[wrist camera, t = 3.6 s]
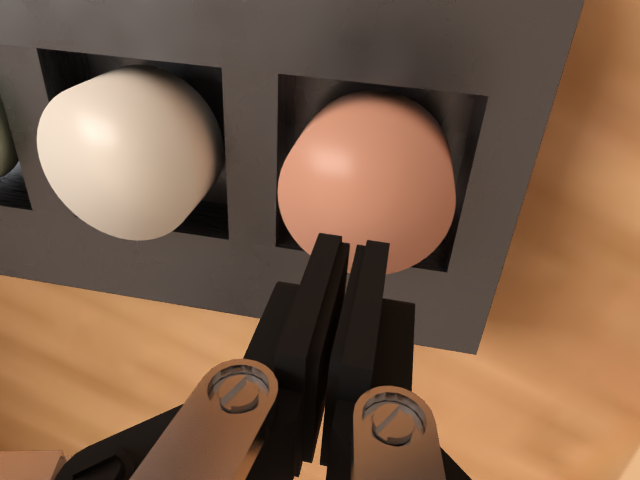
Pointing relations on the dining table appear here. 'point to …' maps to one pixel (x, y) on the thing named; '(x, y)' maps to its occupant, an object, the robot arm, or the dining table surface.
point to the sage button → (6, 144)
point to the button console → (287, 136)
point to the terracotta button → (370, 178)
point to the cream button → (131, 151)
